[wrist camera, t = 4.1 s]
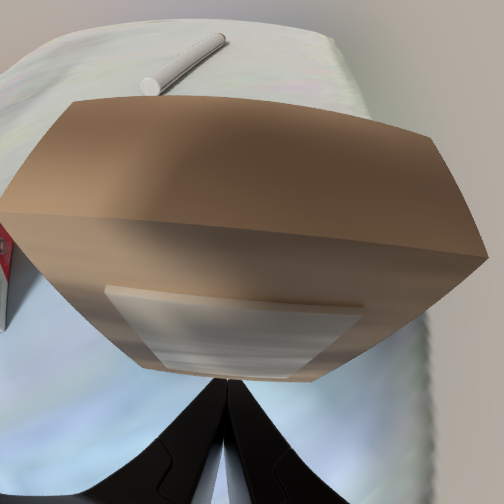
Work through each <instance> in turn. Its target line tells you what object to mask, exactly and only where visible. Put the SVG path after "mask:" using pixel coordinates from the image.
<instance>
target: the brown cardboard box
mask: <svg viewBox="0 0 504 504" xmlns="http://www.w3.org/2000/svg"><path fill="white" fill-rule="evenodd" d="M0 223H1V224H2V225H3V227H4V228H5V230H6V231H7V232H8V233H9V235H10V236H11V237H12V239H13V240H14V241H15V243H16V244H17V245H18V246H19V248H20V249H21V250H22V251H23V252H24V254H25V255H26V256H27V257H28V258H29V260H30V261H31V262H32V263H33V264H34V266H35V267H36V268H37V269H38V270H39V271H40V272H41V274H42V275H43V276H44V277H45V278H46V279H47V280H48V281H49V282H50V283H51V285H52V286H53V287H54V288H55V289H56V290H57V291H58V292H59V293H60V294H61V295H62V296H63V297H64V298H65V299H66V300H67V301H68V302H69V303H70V304H71V305H72V306H73V307H74V308H75V309H76V310H77V311H78V312H79V313H80V314H81V315H82V316H83V317H84V318H85V319H86V320H87V321H88V322H89V323H90V324H92V325H93V326H94V327H95V328H96V329H97V330H98V331H99V332H100V333H101V334H103V335H104V336H105V337H106V338H107V339H108V340H109V341H111V342H112V343H113V344H114V345H115V346H116V347H118V348H119V349H120V350H121V351H122V352H124V353H125V354H126V355H127V356H128V357H130V358H131V359H132V360H133V361H135V362H136V363H137V364H138V365H140V366H141V367H142V368H146V369H152V370H158V371H165V372H172V373H179V374H187V375H195V376H203V377H213V378H224V379H236V380H251V381H272V382H312V381H314V380H316V379H318V378H320V377H322V376H324V375H325V374H327V373H329V372H331V371H333V370H335V369H336V368H338V367H340V366H342V365H343V364H345V363H347V362H348V361H350V360H352V359H354V358H355V357H357V356H359V355H360V354H362V353H363V352H365V351H367V350H368V349H370V348H371V347H373V346H375V345H376V344H378V343H379V342H381V341H382V340H384V339H385V338H387V337H389V336H390V335H392V334H393V333H394V332H396V331H397V330H399V329H400V328H402V327H403V326H405V325H406V324H408V323H409V322H410V321H412V320H413V319H415V318H416V317H417V316H419V315H420V314H421V313H423V312H424V311H426V310H427V309H428V308H430V307H431V306H432V305H433V304H435V303H436V302H437V301H439V300H440V299H441V298H442V297H444V296H445V295H446V294H448V293H449V292H450V291H451V290H452V289H454V288H455V287H456V286H457V285H459V284H460V283H461V282H462V281H463V280H464V279H466V278H467V277H468V276H469V275H470V274H471V273H473V272H474V271H475V270H476V269H477V268H478V267H479V266H480V265H482V264H483V263H484V262H485V261H486V260H487V259H488V258H489V257H488V254H487V251H486V249H485V246H484V244H483V241H482V239H481V236H480V234H479V231H478V229H477V226H476V224H475V222H474V219H473V217H472V215H471V212H470V210H469V208H468V206H467V204H466V202H465V200H464V198H463V196H462V193H461V191H460V189H459V187H458V186H457V184H456V182H455V180H454V178H453V176H452V174H451V172H450V171H449V169H448V167H447V165H446V163H445V161H444V160H443V158H442V156H441V155H440V153H439V151H438V149H437V148H436V146H435V145H434V143H433V141H432V140H431V138H429V137H426V136H423V135H420V134H417V133H414V132H411V131H407V130H404V129H401V128H398V127H394V126H391V125H386V124H383V123H380V122H376V121H372V120H368V119H364V118H360V117H355V116H351V115H347V114H342V113H337V112H332V111H327V110H322V109H316V108H311V107H305V106H299V105H292V104H285V103H278V102H270V101H261V100H252V99H241V98H228V97H212V96H132V97H116V98H104V99H94V100H85V101H77V102H73V103H72V104H71V105H70V106H69V107H68V108H67V109H66V110H65V112H64V113H63V114H62V115H61V116H60V117H59V118H58V119H57V121H56V122H55V123H54V124H53V125H52V127H51V128H50V129H49V130H48V131H47V133H46V134H45V135H44V136H43V138H42V139H41V140H40V141H39V143H38V144H37V145H36V147H35V148H34V149H33V151H32V152H31V153H30V155H29V156H28V157H27V159H26V160H25V162H24V163H23V164H22V166H21V167H20V169H19V170H18V172H17V173H16V175H15V176H14V178H13V179H12V181H11V182H10V184H9V185H8V187H7V188H6V190H5V192H4V193H3V195H2V197H1V198H0Z"/></svg>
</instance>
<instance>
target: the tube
mask: <svg viewBox="0 0 504 504" xmlns="http://www.w3.org/2000/svg"><path fill="white" fill-rule="evenodd" d="M225 39H226V38H225V36H224V35H223V34H220V33H215V34H213V35H211V36H209V37H207V38H206V39H204V40H202V41H200V42H199V43H197V44H195V45H194V46H192V47H190V48H189V49H187V50H186V51H184V52H182V53H181V54H179V55H178V56H176V57H175V58H173V59H172V60H170V61H169V62H167V63H166V64H164V65H163V66H161V67H160V68H158V69H157V70H156V71H154V72H153V73H151V74H150V75H149V76H147V77H146V78H145V79H143V80H142V81H141V84H140V89H141V92H142V93H143V94H144V95H145V96H158V95H159V94H161V93H162V92H164V90H166V88H168V87H169V86H171V84H173V83H174V82H175V81H177V79H179V78H180V77H181V76H183V74H185V73H186V72H187V71H188V70H190V69H191V68H192V67H194V66H195V65H196V64H198V63H199V62H200V61H202V60H203V59H204V58H206V57H207V56H208V55H210V54H211V53H213V52H214V51H215V50H217V49H218V48H220V47H221V46H223V45H224V43H225Z"/></svg>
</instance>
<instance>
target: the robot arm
mask: <svg viewBox="0 0 504 504" xmlns="http://www.w3.org/2000/svg"><path fill="white" fill-rule="evenodd" d="M227 383H228V385H227ZM224 427H225V428H224ZM223 441H224V456H225V466H226V476H227V485H228V493H229V502H230V504H350V503H348V502H347V501H346V500H345V499H344V498H342V497H341V496H340V495H339V494H337V493H336V492H335V491H334V490H333V489H332V488H330V487H329V486H328V485H327V484H326V483H325V482H323V481H322V480H321V479H320V478H319V477H318V476H317V475H316V474H315V473H314V472H313V471H312V470H311V469H310V468H309V467H308V466H307V465H306V464H305V463H304V462H303V460H302V459H301V458H300V457H299V456H298V455H297V453H296V452H295V451H294V449H292V448H291V446H290V445H289V443H288V442H287V441H286V439H285V438H284V437H283V436H282V434H281V433H280V432H279V430H278V429H277V428H276V426H275V425H274V424H273V423H272V421H271V420H270V419H269V417H268V416H267V414H266V413H265V412H264V410H263V409H262V408H261V406H260V405H259V404H258V402H257V401H256V399H255V398H254V397H253V395H252V394H251V392H250V391H249V390H248V388H247V387H246V385H245V384H244V383H243V381H242V380H236V379H229V380H227V379H224V378H213V379H212V380H211V381H210V383H209V384H208V385H207V386H206V387H205V388H204V389H203V390H202V391H201V392H200V393H199V394H198V396H197V397H196V398H195V399H194V400H193V401H192V402H191V403H190V404H189V405H188V406H187V407H186V408H185V409H184V410H183V411H182V412H181V414H180V415H179V416H178V417H177V418H176V419H175V420H174V421H173V422H172V423H171V424H170V425H169V426H168V427H167V428H166V429H165V430H164V431H163V432H162V433H161V434H160V435H159V436H158V438H156V439H155V440H154V441H153V442H152V443H151V444H150V445H149V446H148V447H147V448H146V449H145V450H143V451H142V452H141V453H140V454H139V455H138V456H137V457H135V458H134V459H133V460H131V461H130V462H129V463H127V464H126V465H125V466H123V467H122V468H120V469H119V470H117V471H116V472H114V473H113V474H111V475H110V476H108V477H107V478H105V479H104V480H102V481H101V482H99V483H98V484H96V485H95V486H93V487H91V488H90V489H88V490H86V491H83V492H80V493H77V494H73V495H61V496H19V495H7V494H1V493H0V504H211V499H212V495H213V490H214V486H215V481H216V477H217V472H218V467H219V463H220V458H221V454H222V448H223Z"/></svg>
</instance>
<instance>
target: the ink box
mask: <svg viewBox="0 0 504 504" xmlns="http://www.w3.org/2000/svg"><path fill="white" fill-rule="evenodd" d="M13 244H14V240H13V239H12V237H11V236H10V235H9V233H8V232H7V231H6V230H5V228H4V227H3V226H2V224H1V223H0V332H3V331H5V319H6V300H7V288H8V278H9V270H10V262H11V256H12V250H13Z"/></svg>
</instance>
